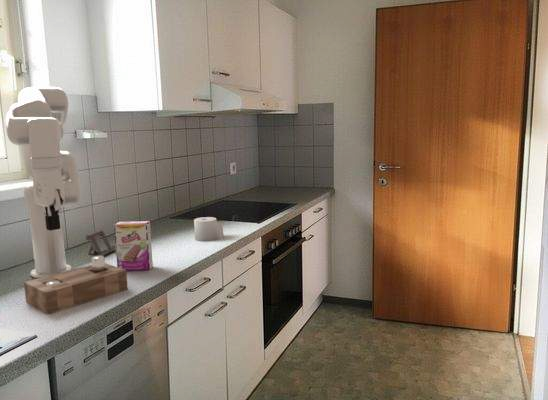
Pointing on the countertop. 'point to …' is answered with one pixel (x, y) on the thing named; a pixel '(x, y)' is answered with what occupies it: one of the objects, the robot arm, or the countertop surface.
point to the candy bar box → (133, 245)
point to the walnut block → (74, 287)
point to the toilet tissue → (207, 229)
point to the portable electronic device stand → (95, 240)
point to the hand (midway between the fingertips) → (53, 229)
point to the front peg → (52, 282)
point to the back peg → (98, 264)
